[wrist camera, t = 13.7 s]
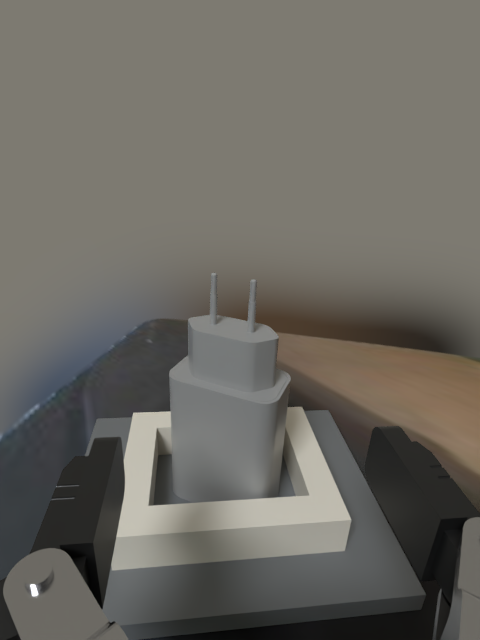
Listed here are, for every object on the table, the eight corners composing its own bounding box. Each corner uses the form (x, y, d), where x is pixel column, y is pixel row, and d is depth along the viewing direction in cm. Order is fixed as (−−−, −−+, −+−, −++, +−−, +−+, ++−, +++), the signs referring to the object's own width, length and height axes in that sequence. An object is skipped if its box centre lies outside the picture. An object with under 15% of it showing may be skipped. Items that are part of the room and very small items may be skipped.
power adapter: (263, 530, 20) (284, 298, 15) (167, 492, 21) (158, 275, 17) (282, 485, 22) (305, 276, 17) (195, 455, 24) (195, 259, 19)
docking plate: (326, 421, 29) (331, 386, 28) (421, 609, 17) (437, 562, 16) (98, 430, 27) (93, 393, 26) (30, 651, 15) (15, 601, 14)
